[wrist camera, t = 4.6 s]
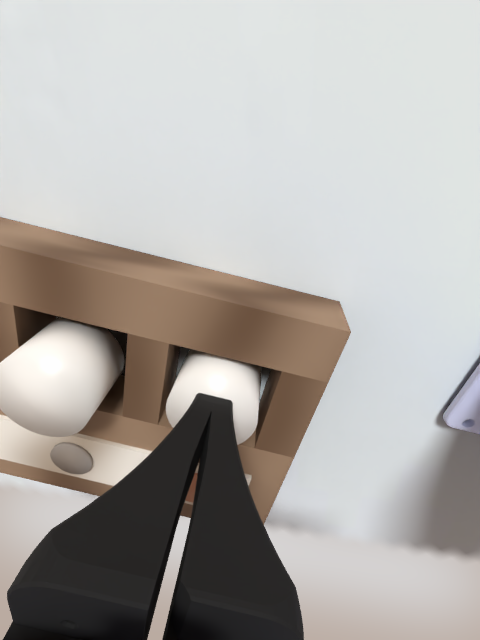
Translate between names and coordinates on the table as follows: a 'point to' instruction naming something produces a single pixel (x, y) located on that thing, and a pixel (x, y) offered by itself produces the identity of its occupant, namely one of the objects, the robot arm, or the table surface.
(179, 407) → the button
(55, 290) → the button board
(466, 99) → the table surface
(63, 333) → the middle button
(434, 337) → the table surface
